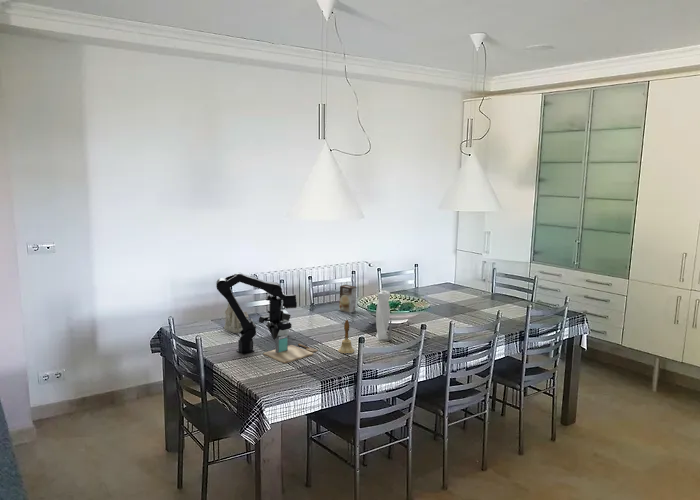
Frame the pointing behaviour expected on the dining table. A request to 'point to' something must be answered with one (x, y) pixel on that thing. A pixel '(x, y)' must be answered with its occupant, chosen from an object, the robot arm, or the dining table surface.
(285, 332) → the supplement box
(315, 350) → the turner
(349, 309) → the coffee box
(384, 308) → the white bottle
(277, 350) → the block
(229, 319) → the beige sack
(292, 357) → the board
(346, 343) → the hand bell
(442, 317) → the dining table surface
